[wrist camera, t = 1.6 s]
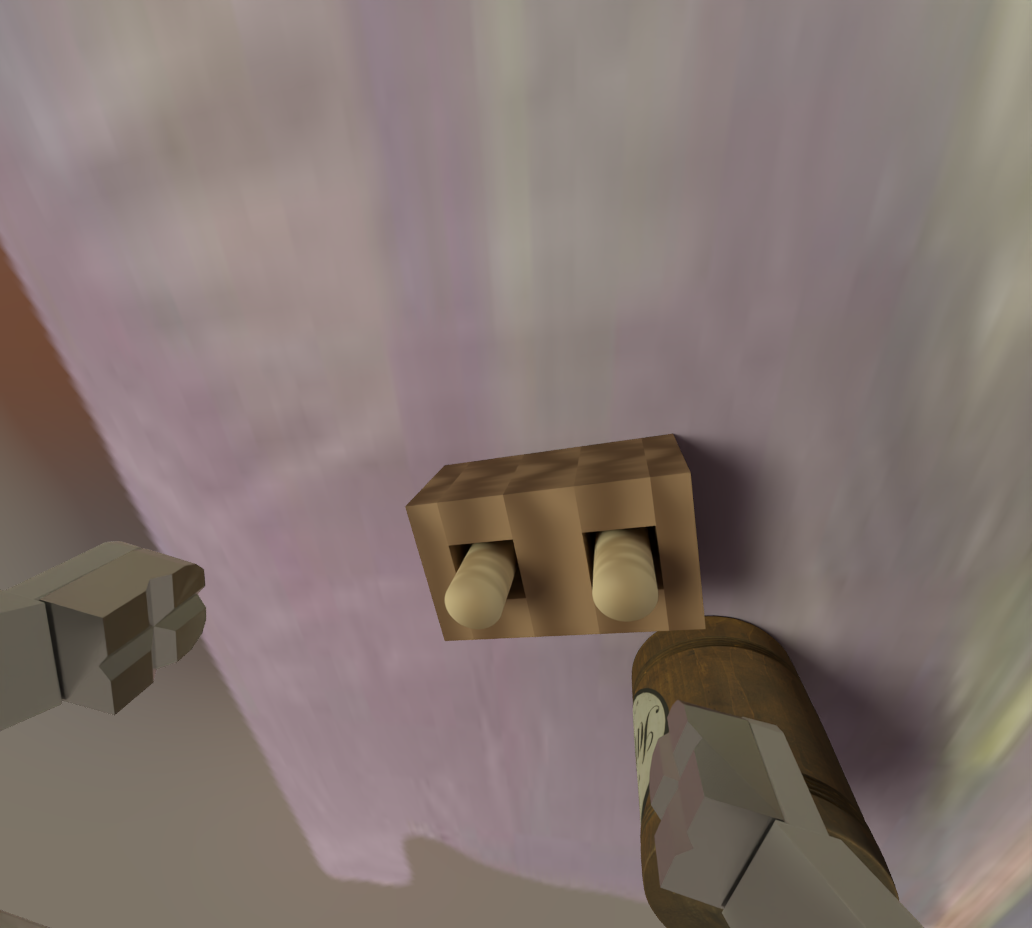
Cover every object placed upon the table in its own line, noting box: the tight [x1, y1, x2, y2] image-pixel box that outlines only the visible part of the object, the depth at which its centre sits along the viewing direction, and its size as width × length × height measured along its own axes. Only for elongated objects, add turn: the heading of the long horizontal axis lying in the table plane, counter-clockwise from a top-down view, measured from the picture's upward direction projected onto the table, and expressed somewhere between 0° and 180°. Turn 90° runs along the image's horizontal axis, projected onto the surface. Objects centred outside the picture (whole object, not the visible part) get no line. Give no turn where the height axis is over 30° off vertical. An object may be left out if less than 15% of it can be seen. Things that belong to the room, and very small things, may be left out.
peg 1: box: [445, 539, 518, 629], centre depth 36 cm, size 4×4×8 cm
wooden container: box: [632, 616, 899, 928], centre depth 36 cm, size 15×15×22 cm
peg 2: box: [592, 526, 658, 622], centre depth 33 cm, size 4×4×8 cm
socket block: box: [405, 434, 706, 641], centre depth 39 cm, size 20×12×9 cm, turn 102°
